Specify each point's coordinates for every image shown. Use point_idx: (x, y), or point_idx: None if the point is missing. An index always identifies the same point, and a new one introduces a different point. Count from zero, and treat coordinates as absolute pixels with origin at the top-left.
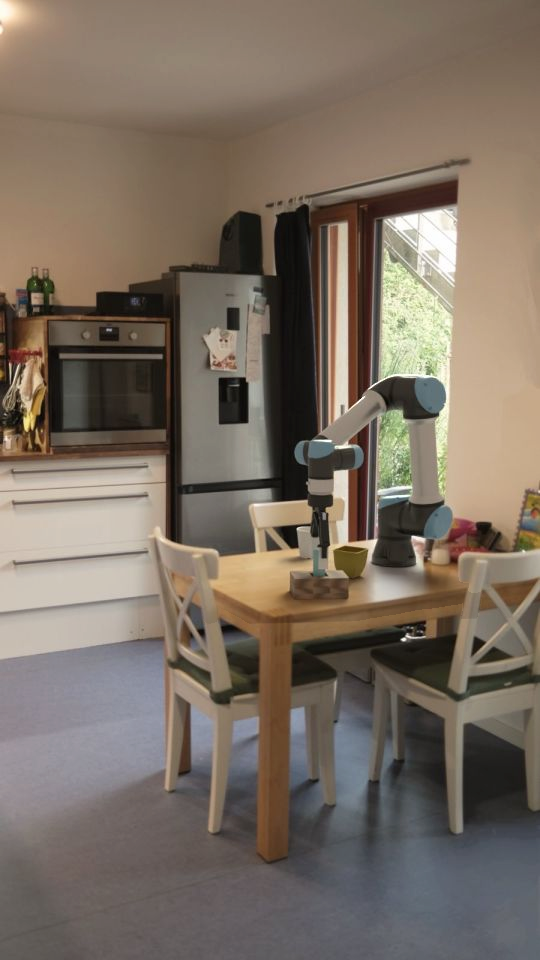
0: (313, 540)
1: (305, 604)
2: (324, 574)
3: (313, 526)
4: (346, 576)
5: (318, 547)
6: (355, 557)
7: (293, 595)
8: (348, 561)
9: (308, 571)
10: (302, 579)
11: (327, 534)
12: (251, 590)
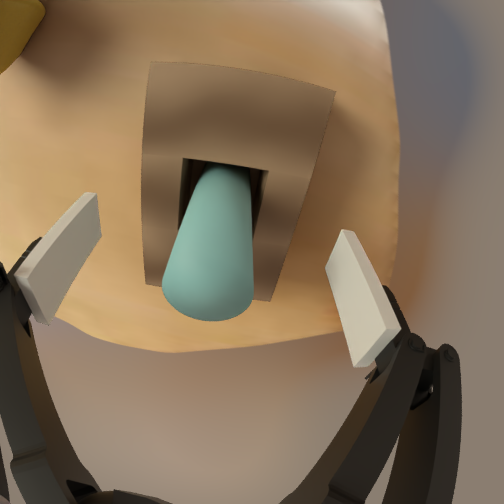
0: (51, 303)
1: (331, 245)
2: (243, 185)
3: (59, 425)
4: (299, 86)
5: (65, 242)
6: (9, 1)
7: None
8: (5, 30)
9: (154, 227)
10: (276, 279)
11: (451, 421)
12: (155, 314)
